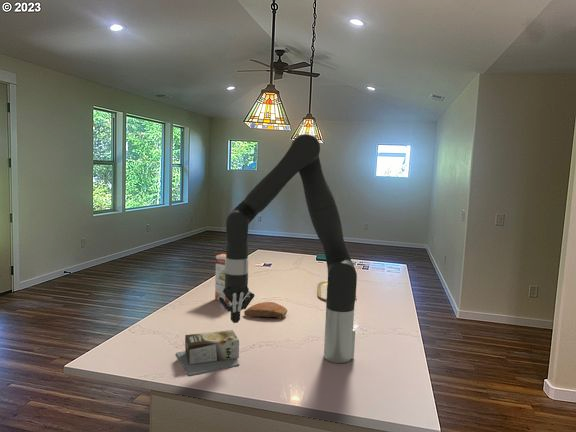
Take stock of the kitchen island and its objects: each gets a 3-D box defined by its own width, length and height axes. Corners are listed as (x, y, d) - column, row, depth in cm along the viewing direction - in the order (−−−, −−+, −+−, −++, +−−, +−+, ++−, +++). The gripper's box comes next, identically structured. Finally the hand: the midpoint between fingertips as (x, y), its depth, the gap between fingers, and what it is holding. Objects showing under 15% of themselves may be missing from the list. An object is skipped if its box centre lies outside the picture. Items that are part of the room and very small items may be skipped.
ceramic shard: (268, 312, 167) (242, 308, 177) (271, 327, 168) (245, 323, 178) (291, 299, 178) (265, 296, 188) (293, 313, 179) (267, 310, 189)
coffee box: (239, 339, 136) (189, 345, 130) (239, 358, 137) (189, 365, 131) (232, 329, 144) (184, 334, 138) (232, 346, 145) (184, 353, 139)
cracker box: (214, 299, 196) (215, 255, 194) (222, 296, 201) (222, 253, 199) (239, 304, 190) (240, 259, 187) (246, 301, 195) (247, 257, 192)
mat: (222, 345, 147) (222, 344, 147) (239, 365, 133) (239, 364, 133) (176, 353, 139) (176, 352, 139) (189, 375, 125) (189, 374, 125)
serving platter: (317, 303, 198) (317, 299, 197) (317, 282, 232) (317, 279, 232) (357, 305, 196) (358, 302, 196) (352, 284, 231) (352, 281, 231)
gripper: (221, 275, 131) (219, 329, 133) (259, 272, 137) (258, 323, 139) (213, 270, 137) (212, 321, 139) (250, 266, 144) (249, 315, 146)
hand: (235, 322), depth 139 cm, fingers closed
